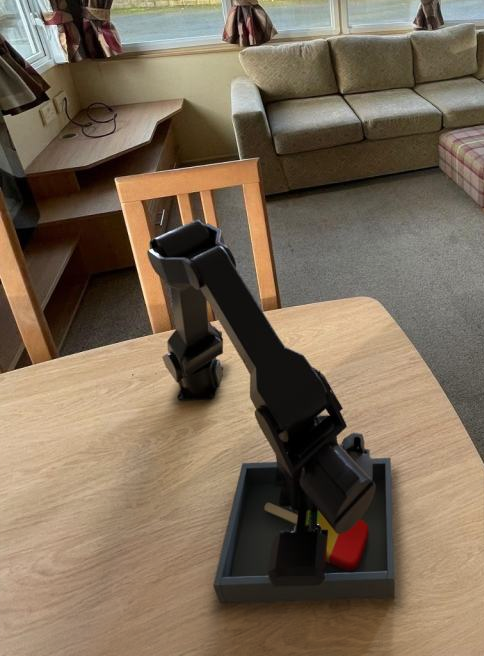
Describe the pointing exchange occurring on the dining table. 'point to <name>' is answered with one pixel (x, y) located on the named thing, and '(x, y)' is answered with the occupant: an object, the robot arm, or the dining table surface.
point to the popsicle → (334, 539)
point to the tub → (261, 526)
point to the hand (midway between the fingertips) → (312, 525)
